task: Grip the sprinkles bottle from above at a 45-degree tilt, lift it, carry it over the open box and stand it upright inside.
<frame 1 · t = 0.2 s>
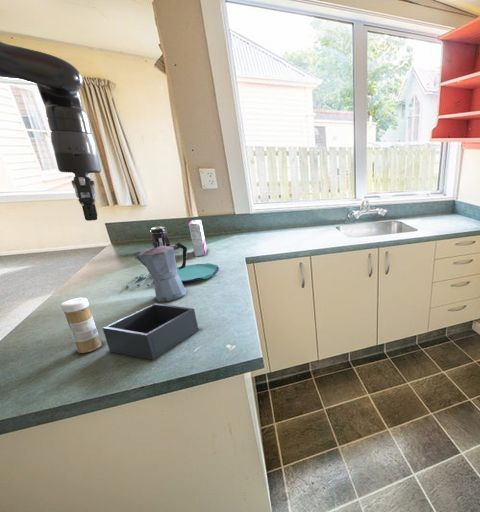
hand: (92, 218, 76), 32 cm above the worktop, tool pointing down, fingers open, 8 cm apart
sprinkles bottle: (90, 349, 76), on the worktop
candy bar box: (201, 253, 152), on the worktop
open box: (157, 340, 79), on the worktop
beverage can: (163, 250, 157), on the worktop
moka pot: (172, 296, 105), on the worktop
teal oval tray: (178, 278, 121), on the worktop
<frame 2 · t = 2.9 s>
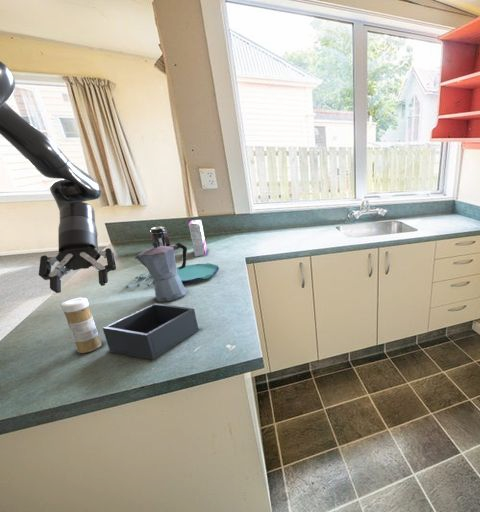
hand: (80, 288, 77), 14 cm above the worktop, tool tilted 45°, fingers open, 8 cm apart
nothing on the worktop moved.
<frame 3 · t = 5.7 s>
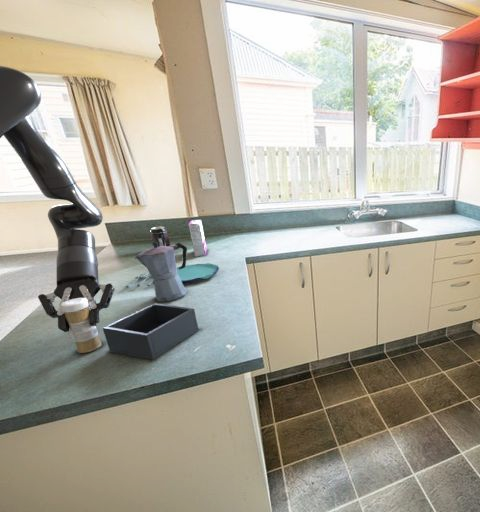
hand: (79, 327, 72), 7 cm above the worktop, tool tilted 45°, fingers closed on sprinkles bottle, 4 cm apart
sprinkles bottle: (90, 349, 76), on the worktop, touching gripper
everything else where it was.
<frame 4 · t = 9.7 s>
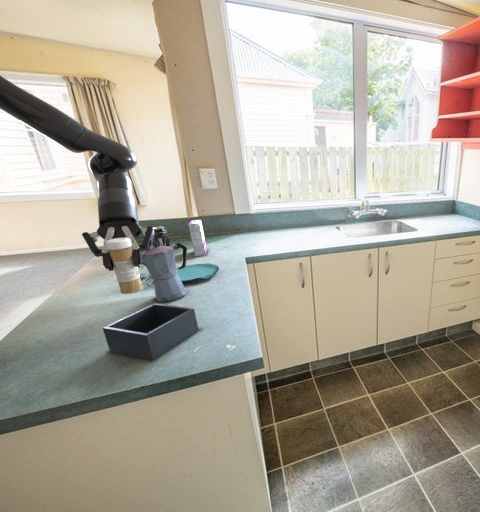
hand: (123, 266, 70), 22 cm above the worktop, tool tilted 45°, fingers closed on sprinkles bottle, 4 cm apart
sprinkles bottle: (132, 291, 74), point 14 cm above the worktop, touching gripper
everything else where it was.
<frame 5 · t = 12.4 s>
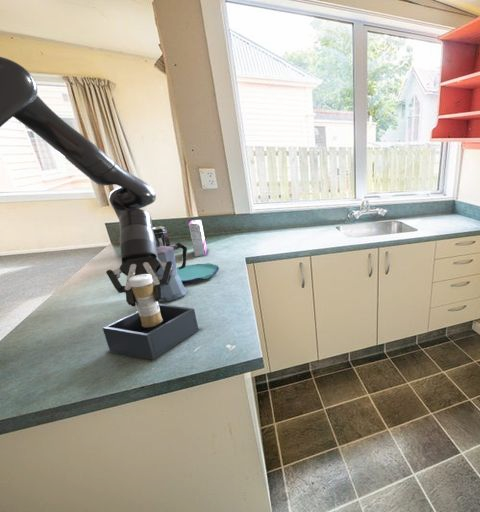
hand: (145, 302, 74), 12 cm above the worktop, tool tilted 45°, fingers closed on sprinkles bottle, 4 cm apart
sprinkles bottle: (153, 324, 78), point 5 cm above the worktop, touching gripper
everything else where it was.
when the fingers open (8 cm above the worktop, at t = 14.0 s): sprinkles bottle stays where it is, resting on open box.
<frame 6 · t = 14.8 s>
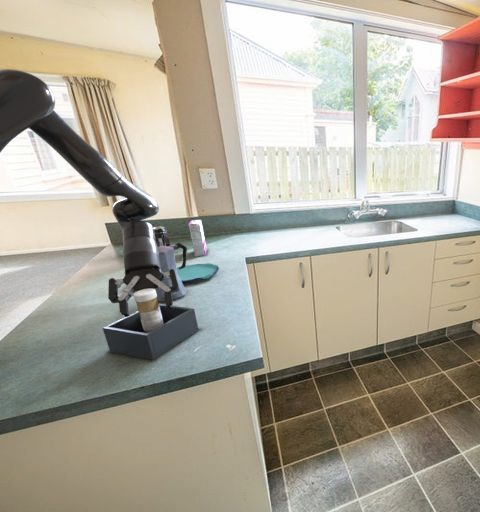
hand: (148, 311, 75), 9 cm above the worktop, tool tilted 45°, fingers open, 8 cm apart
sprinkles bottle: (156, 337, 79), point 1 cm above the worktop, touching open box
everything else where it was.
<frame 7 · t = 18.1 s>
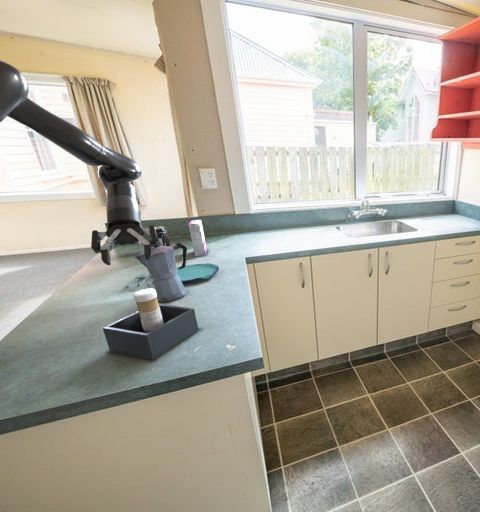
hand: (128, 261, 82), 19 cm above the worktop, tool tilted 45°, fingers open, 8 cm apart
nothing on the worktop moved.
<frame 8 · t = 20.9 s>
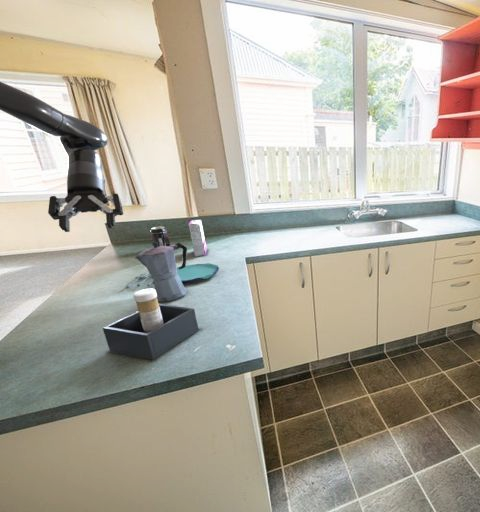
hand: (88, 228, 78), 29 cm above the worktop, tool tilted 45°, fingers open, 8 cm apart
nothing on the worktop moved.
at the end: sprinkles bottle inside the target area in the open box (0.2 cm from its centre), point 0.6 cm above the open box's base; sprinkles bottle tilted 0°; the gripper is holding nothing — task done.
